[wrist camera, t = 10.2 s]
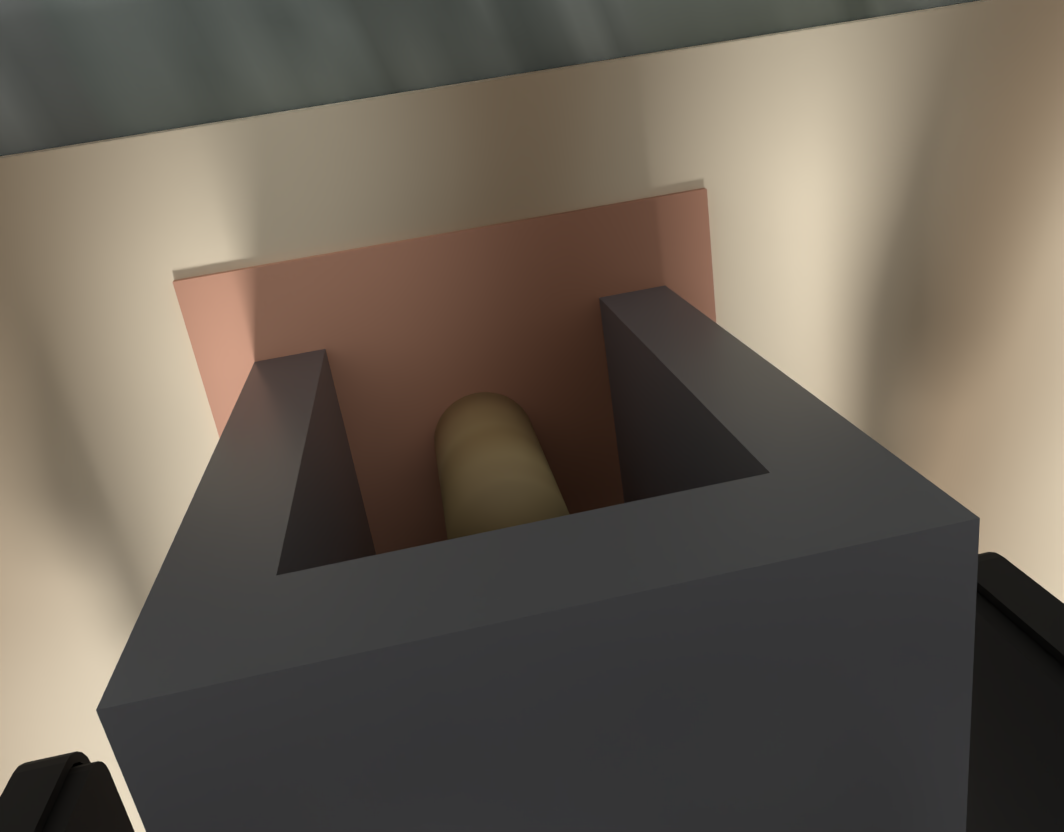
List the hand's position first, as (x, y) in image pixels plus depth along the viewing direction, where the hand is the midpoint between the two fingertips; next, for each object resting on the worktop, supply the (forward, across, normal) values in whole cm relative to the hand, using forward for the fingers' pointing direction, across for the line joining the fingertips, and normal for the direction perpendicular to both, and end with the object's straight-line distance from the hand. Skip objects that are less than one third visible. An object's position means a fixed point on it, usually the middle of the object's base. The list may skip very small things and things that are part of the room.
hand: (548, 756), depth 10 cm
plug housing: (+2, 0, 0) cm, 2 cm away
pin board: (+3, 0, 0) cm, 3 cm away
